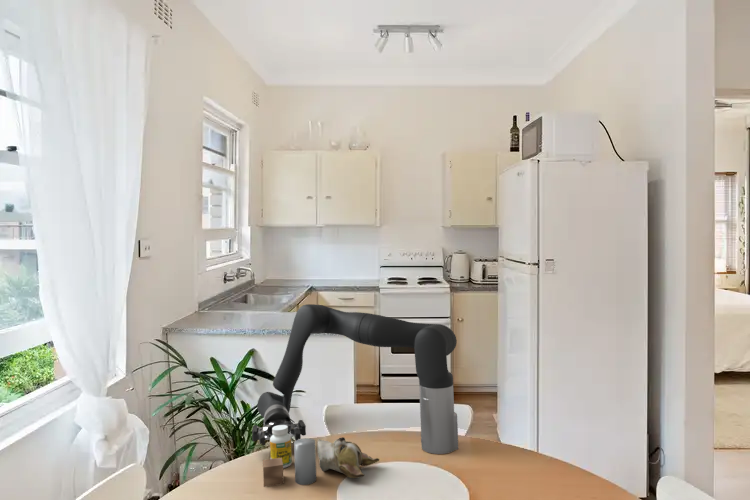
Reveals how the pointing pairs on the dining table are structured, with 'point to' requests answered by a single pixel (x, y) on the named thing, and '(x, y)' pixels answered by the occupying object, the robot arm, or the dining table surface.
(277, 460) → the walnut block
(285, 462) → the supplement bottle
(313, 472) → the light grey cylinder
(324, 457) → the ceramic sculpture
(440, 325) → the robot arm
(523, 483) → the dining table surface
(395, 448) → the dining table surface
